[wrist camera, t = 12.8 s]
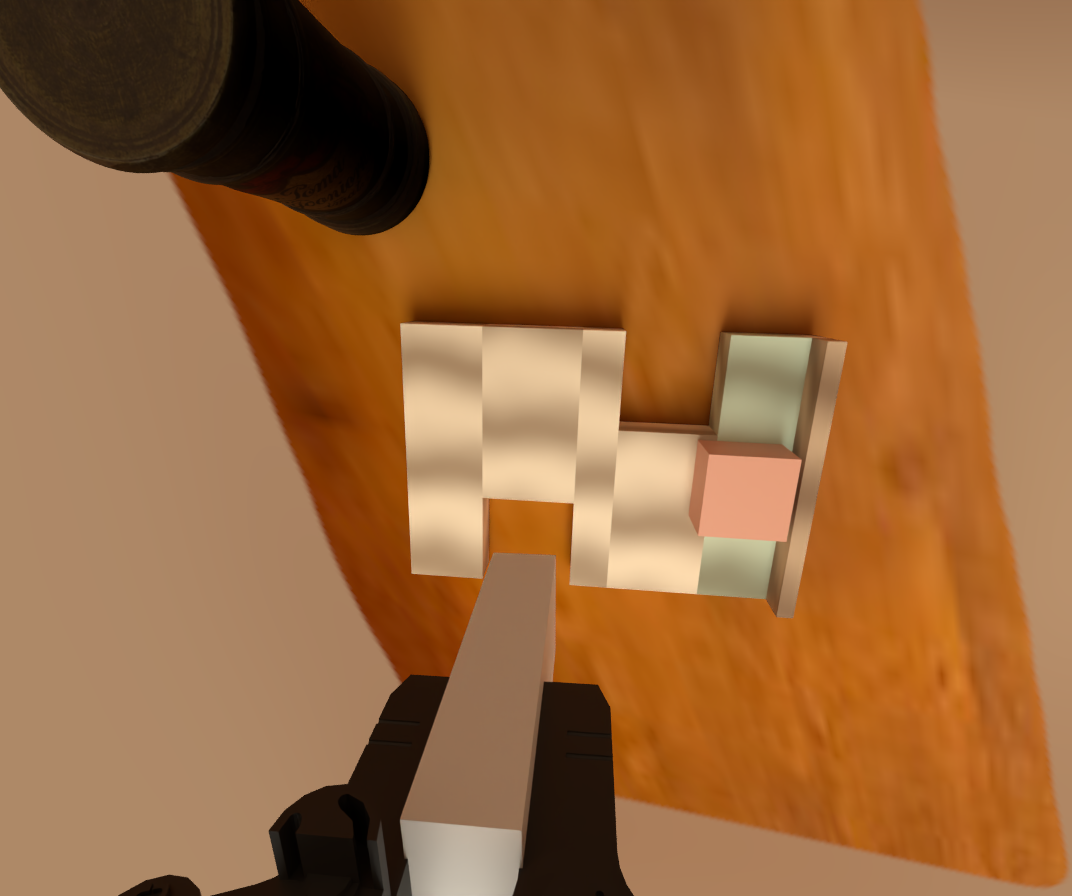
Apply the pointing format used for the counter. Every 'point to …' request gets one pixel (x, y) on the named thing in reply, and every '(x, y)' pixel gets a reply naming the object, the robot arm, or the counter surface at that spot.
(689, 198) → the counter surface
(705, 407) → the counter surface
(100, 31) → the container
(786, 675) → the counter surface
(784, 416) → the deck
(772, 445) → the block
